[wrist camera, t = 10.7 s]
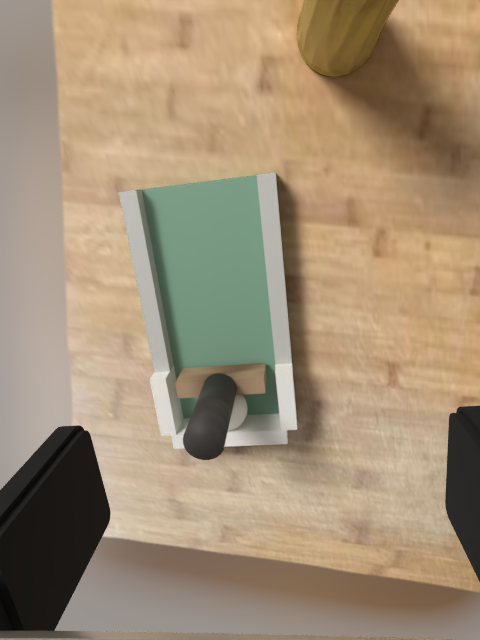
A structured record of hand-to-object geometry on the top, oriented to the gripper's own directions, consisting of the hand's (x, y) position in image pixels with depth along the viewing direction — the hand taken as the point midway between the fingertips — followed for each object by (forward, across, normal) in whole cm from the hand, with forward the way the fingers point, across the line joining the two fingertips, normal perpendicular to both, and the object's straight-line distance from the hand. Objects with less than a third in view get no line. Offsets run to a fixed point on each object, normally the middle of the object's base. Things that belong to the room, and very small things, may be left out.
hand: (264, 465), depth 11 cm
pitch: (+28, +6, +4) cm, 29 cm away
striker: (+27, +6, +10) cm, 29 cm away
